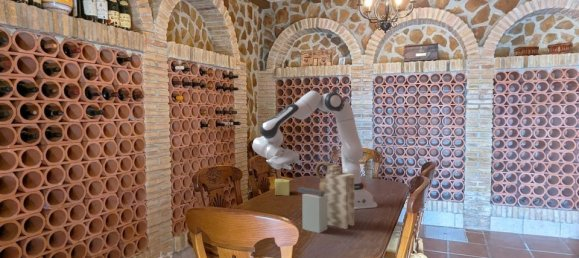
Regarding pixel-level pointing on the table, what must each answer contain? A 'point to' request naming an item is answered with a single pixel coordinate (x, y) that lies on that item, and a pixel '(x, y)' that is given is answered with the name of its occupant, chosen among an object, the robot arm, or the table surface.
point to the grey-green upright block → (314, 213)
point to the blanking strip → (311, 191)
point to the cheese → (281, 187)
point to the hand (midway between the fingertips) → (296, 166)
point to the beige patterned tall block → (339, 197)
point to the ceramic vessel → (322, 180)
